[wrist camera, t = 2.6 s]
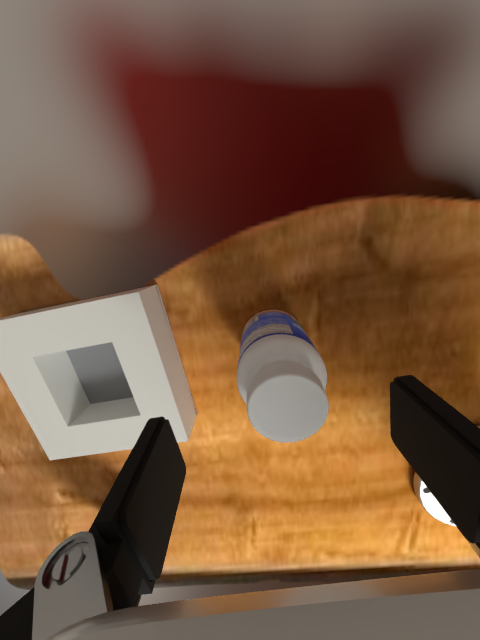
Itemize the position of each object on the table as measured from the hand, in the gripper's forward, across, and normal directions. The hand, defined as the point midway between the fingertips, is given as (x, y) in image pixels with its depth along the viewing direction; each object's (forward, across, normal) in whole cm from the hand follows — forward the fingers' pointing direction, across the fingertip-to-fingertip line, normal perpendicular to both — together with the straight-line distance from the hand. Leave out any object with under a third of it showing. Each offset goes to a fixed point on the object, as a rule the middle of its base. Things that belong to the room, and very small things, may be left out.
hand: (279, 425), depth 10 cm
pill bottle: (+11, -1, +1) cm, 11 cm away
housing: (+12, +14, +1) cm, 18 cm away
